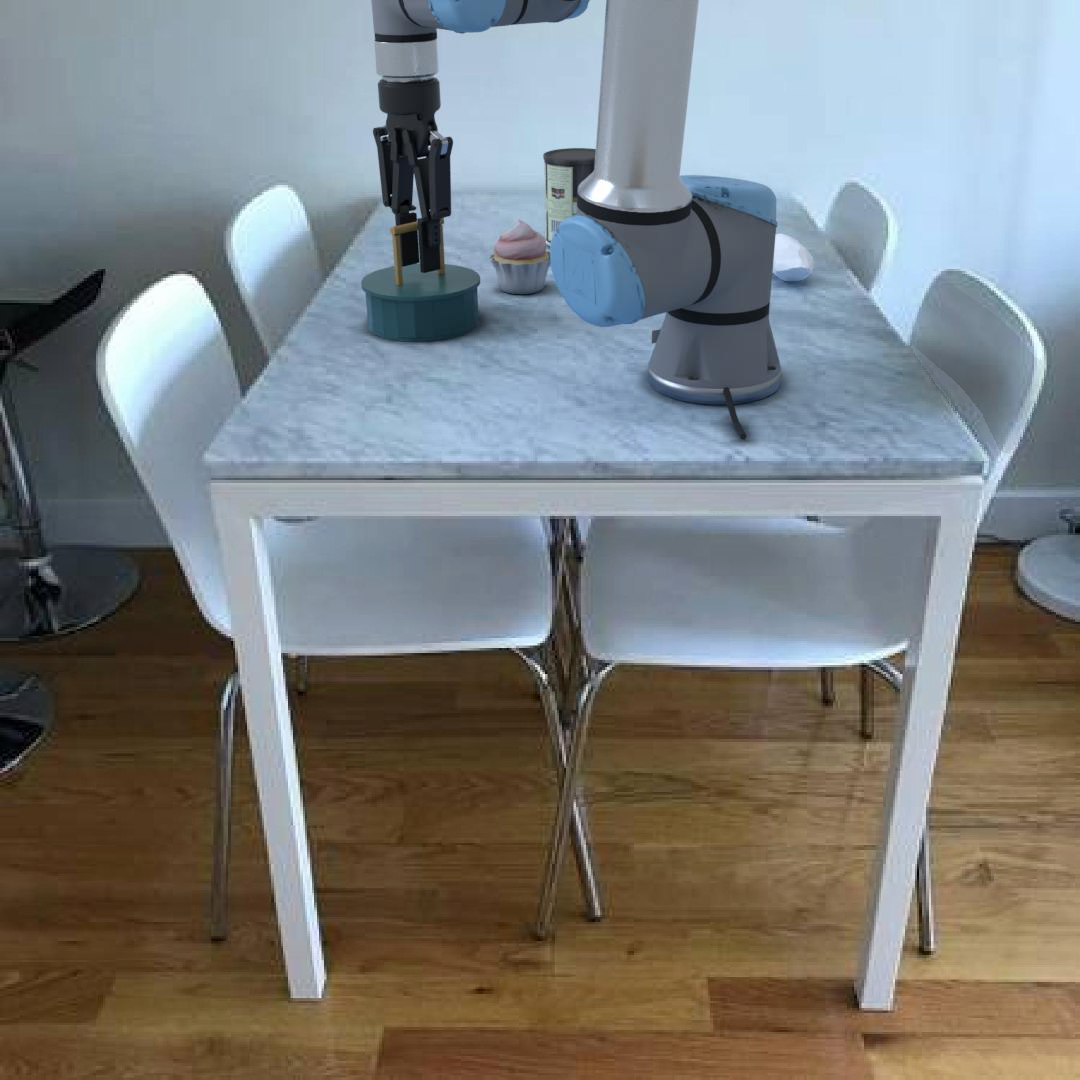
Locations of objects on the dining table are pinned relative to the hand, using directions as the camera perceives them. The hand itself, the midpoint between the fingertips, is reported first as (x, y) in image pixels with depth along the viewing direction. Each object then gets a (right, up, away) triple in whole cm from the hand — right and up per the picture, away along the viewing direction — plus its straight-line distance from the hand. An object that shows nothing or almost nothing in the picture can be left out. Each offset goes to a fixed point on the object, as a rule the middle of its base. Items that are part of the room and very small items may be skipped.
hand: (420, 267), depth 161 cm
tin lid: (0, -2, +1) cm, 2 cm away
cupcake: (+13, +1, +17) cm, 22 cm away
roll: (+52, +2, +19) cm, 55 cm away
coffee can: (+22, +13, +40) cm, 47 cm away
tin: (0, -7, +4) cm, 8 cm away
